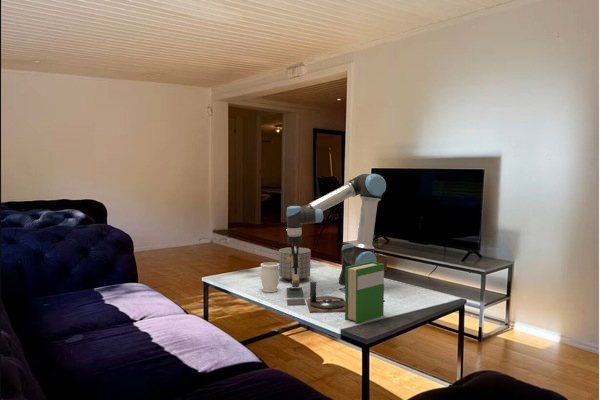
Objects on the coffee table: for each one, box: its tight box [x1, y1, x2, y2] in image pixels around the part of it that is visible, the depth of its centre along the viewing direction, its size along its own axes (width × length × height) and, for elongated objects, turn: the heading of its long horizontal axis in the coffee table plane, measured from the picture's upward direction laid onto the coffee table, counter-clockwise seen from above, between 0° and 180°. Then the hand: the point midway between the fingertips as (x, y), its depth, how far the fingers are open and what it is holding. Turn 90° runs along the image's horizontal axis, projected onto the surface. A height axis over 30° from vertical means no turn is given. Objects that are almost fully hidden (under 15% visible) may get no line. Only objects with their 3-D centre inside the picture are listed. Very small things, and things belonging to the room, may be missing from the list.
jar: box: [260, 261, 280, 293], centre depth 246 cm, size 11×10×15 cm
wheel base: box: [306, 297, 345, 314], centre depth 219 cm, size 19×19×1 cm
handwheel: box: [309, 281, 345, 309], centre depth 219 cm, size 17×17×11 cm
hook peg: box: [287, 256, 300, 288], centre depth 237 cm, size 6×4×16 cm, turn 94°
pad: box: [286, 298, 307, 306], centre depth 225 cm, size 9×9×1 cm
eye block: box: [285, 286, 304, 299], centre depth 238 cm, size 8×8×3 cm
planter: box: [278, 247, 311, 282], centre depth 270 cm, size 19×19×18 cm
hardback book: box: [344, 261, 385, 325], centre depth 202 cm, size 18×7×24 cm, turn 130°
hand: (295, 278), depth 237 cm, fingers closed on hook peg, 4 cm apart
